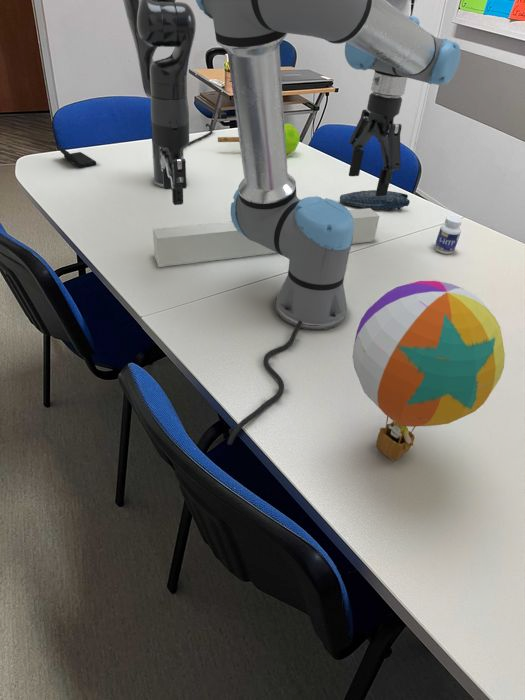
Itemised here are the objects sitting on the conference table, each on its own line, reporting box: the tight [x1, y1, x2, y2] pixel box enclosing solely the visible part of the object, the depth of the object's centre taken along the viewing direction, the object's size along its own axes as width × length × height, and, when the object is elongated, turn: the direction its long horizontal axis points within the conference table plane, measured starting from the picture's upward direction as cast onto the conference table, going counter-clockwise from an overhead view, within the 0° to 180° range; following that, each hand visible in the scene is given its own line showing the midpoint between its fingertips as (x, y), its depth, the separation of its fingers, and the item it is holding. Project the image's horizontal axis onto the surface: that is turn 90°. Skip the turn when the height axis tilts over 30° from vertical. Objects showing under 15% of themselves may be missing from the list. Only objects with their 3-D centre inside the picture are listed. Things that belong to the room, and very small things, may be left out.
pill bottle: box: [434, 215, 463, 255], centre depth 137 cm, size 5×5×9 cm
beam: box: [152, 208, 380, 268], centre depth 131 cm, size 59×5×7 cm, turn 111°
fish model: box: [339, 189, 411, 211], centre depth 158 cm, size 7×21×5 cm, turn 84°
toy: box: [352, 280, 506, 462], centre depth 74 cm, size 20×20×30 cm
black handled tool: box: [52, 142, 97, 168], centre depth 169 cm, size 12×7×10 cm
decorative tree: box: [217, 123, 301, 155], centre depth 187 cm, size 18×10×30 cm
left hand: (173, 196), depth 115 cm, fingers open, 8 cm apart
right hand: (366, 185), depth 132 cm, fingers open, 13 cm apart
